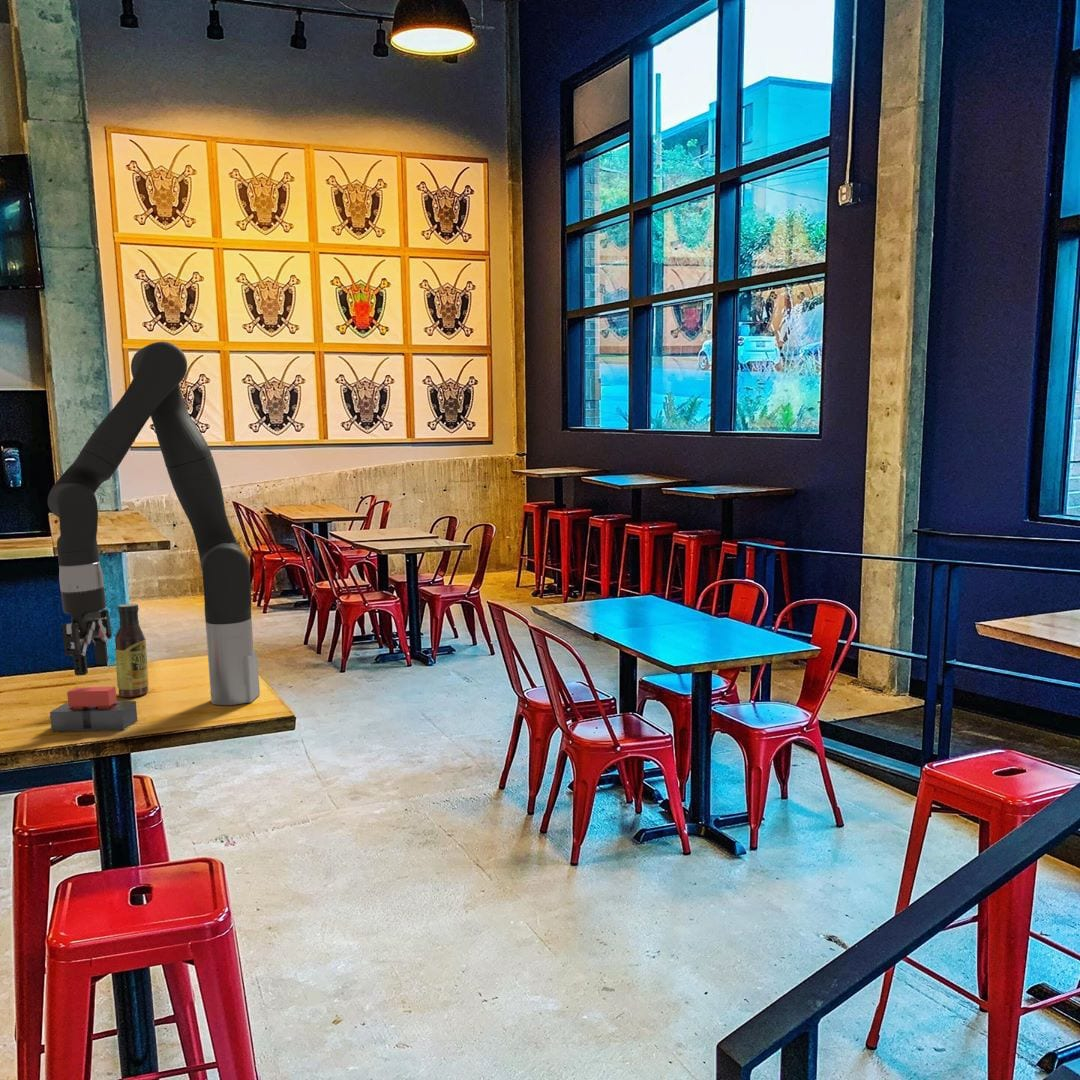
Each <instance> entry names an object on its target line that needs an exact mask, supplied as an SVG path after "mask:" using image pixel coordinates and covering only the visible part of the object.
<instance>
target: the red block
mask: <svg viewBox="0 0 1080 1080" xmlns="http://www.w3.org/2000/svg"><path fill="white" fill-rule="evenodd" d="M116 689H117V688H116V686H91V687H90V686H80V687H79V686H78V687H77V686H76V687H73V688H71V689H69V690H68V691H67V692H66V693H67V695H66V696H67V703H68V706H69V707H73V709H86V708H88V706H98V709H111V708H112V707H113V703H115V702H118V700H117V693H116V692H117V690H116Z"/></svg>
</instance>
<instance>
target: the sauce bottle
mask: <svg viewBox="0 0 1080 1080" xmlns="http://www.w3.org/2000/svg"><path fill="white" fill-rule="evenodd" d="M117 609H118V610H117V611H118V613H119V615H118V616H119V628H118V630H117V633H116V634H115V637H114V641H115V647H114V648H115V649H114V652H115V664H116V665H115V666H116V669H115V670H116V679H117V681H116V682H117V683H116V684H117V689H118V696H119V697H121V698H134V697H140V696H144V695H146V694H147V693H148V692H149V684H150V683H149V670H148V654H147V653H148V652H147V651H148V650H147V639H146V637H145V635H144V633H143V631H142V628H141V625H140V624H139V623H140V621H139V604H138V603H126V604H119V605H117Z"/></svg>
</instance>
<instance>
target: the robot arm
mask: <svg viewBox="0 0 1080 1080" xmlns="http://www.w3.org/2000/svg"><path fill="white" fill-rule="evenodd" d="M130 362H131V364H130V373H131V375H132V380H131V382H130V384H129V385H128V387H127V388H126V391H125V392H124V394H122V396H121V397H120V399H119V400H118V401H117V403H116V404H115V406H114V407H113V408H112V409H111V410H110V412H109V413H108V414H107V415H106V416H105V417H104V418H103V419H102V420H101V422H100V423H99V425H98V426H97V427H95V430H94V431H93V432H92V434H91V435H90V436H89V438H88V440H87V441H86V443H85V444H84V446H83V447H82V448H81V450H80V452H79V453H78V455H77V457H76V458H75V460H74V461H73V463H71V465H70V466H69V467H68V468H67V469H66V470H65V471H64V472H63V473H62V475H61V476H60V477H59V478H58V479H57V481H56V482H55V483H54V485H53V486H52V488H51V489H50V490H49V491H50V492H49V493H48V496H47V506H48V508H49V510H50V512H51V513H52V514H53V515H54V516H56V518H58V519H59V531H60V532H59V533H60V534H59V536H58V538H57V539H56V549H57V550H56V552H57V559H58V560H57V561H58V568H59V574H58V579H59V587H60V595H61V605H62V612H63V613H64V614H66V615H70V616H71V622H70V623H63V624H62V626H61V627H62V639H63V648H64V649H63V650H64V655H65V656H69V657H72V663H73V670H74V671H73V672H74V675H75V676H77V677H79V676H85V675H87V674H88V673H89V667H88V661H87V655H86V654H87V653H86V652H87V648H88V646H89V645H90V644H91V642H92V643H93V644H94V645H93V651H94V652H93V653H94V659H95V660H94V661H95V663H96V664H97V665H99V664H100V665H102V664H107V663H108V662H109V656H108V647H107V644H109V639H112V638H113V637H112V636H113V633H112V627H111V619H110V612H109V610H108V609H107V601H106V600H107V599H106V592H105V584H104V574H103V570H102V566H101V562H100V553H99V546H98V541H97V534H98V524H99V523H98V522H99V521H98V519H99V509H98V508H99V506H98V501H97V498H96V494H95V493H96V492H97V490H98V489H99V488H100V486H101V485H102V484H103V483H104V482H106V481H108V480H110V479H111V477H112V476H113V475H114V474H115V472H116V471H117V469H118V467H119V466H120V464H121V463H122V461H124V460H123V459H124V458H125V457H126V455H127V454H128V453H129V451H130V449H131V447H132V445H133V444H134V442H135V441H136V439H137V437H138V436H139V434H140V432H141V431H142V429H143V428H144V426H145V425H146V423H147V422H148V421H149V419H150V418H151V421H152V424H153V427H154V431H155V436H156V438H157V441H158V445H159V448H160V452H161V454H162V458H163V460H164V465H165V467H166V470H167V474H168V478H169V480H170V482H171V485H172V488H173V490H174V493H175V495H176V497H177V500H178V501H179V504H180V506H181V507H182V510H183V512H184V513H185V516H186V517H187V519H188V522H189V523H190V526H191V529H192V532H193V535H194V538H195V539H194V540H195V544H196V546H197V547H196V549H197V552H198V557H199V563H200V570H201V572H202V573H201V574H202V585H203V598H204V618H205V620H204V622H205V632H206V634H205V635H206V648H207V650H206V651H207V659H208V660H207V661H208V675H209V688H210V692H209V693H210V698H211V699H210V701H211V703H212V704H213V705H218V706H235V705H241V704H242V705H243V704H247V703H248V704H249V703H252V702H254V701H255V700H256V699H257V698H258V697H259V696H260V695H261V694H260V691H261V690H260V677H259V676H260V675H259V663H258V662H259V661H258V660H259V659H258V652H257V651H255V649H254V635H253V633H254V632H253V620H252V619H253V618H252V587H251V586H252V583H251V571H250V563H249V559H248V558H247V556H246V554H245V553H244V552H243V550H242V549H241V547H240V545H239V543H238V541H237V539H236V537H235V535H234V531H233V529H232V527H231V525H230V522H229V520H228V516H227V513H226V507H225V500H224V495H223V487H222V484H221V479H220V476H219V472H218V469H217V466H216V463H215V459H214V457H213V454H212V452H211V450H210V446H209V444H208V442H207V440H206V438H205V437H204V436H203V434H202V433H201V431H200V430H199V428H198V427H197V425H196V422H194V421H193V419H192V417H191V416H190V414H189V412H188V409H187V407H186V404H185V401H184V397H183V393H182V390H181V386H180V385H181V382H182V381H183V380H184V378H185V376H186V374H187V371H188V361H187V358H186V355H185V354H184V352H183V351H182V350H181V348H179V346H177V345H175V344H174V343H171V342H168V341H167V342H166V341H159V342H158V341H156V342H152V343H150V344H147V345H145V346H143V347H142V348H140V349H139V350H137V351H136V352H135V354H134V355H133V356H132V359H131V361H130ZM70 644H71V646H70Z"/></svg>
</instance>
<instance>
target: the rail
mask: <svg viewBox="0 0 1080 1080" xmlns="http://www.w3.org/2000/svg"><path fill="white" fill-rule="evenodd" d="M49 718H50V729H51V732H52V731H79V732H101V731H100V730H121V731H125V730H126V729H125V728H127V727H128V726H129V727H131V726H132V725H134V724H135V723H136V722H138V712H137V701H136V700H129V701H126V700H124V701H123V700H122V701H116V702H115V703H113V707H112V708H111V709H98V706H88V708H86V709H73V707H69V706H68V702H65V703H63V704H61V705H59V706H58V707H56V708H54V709H52V710H51V711H49ZM131 724H132V725H131ZM130 725H131V726H130ZM129 727H128V728H129ZM128 728H127V729H128ZM124 729H125V730H124Z"/></svg>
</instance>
